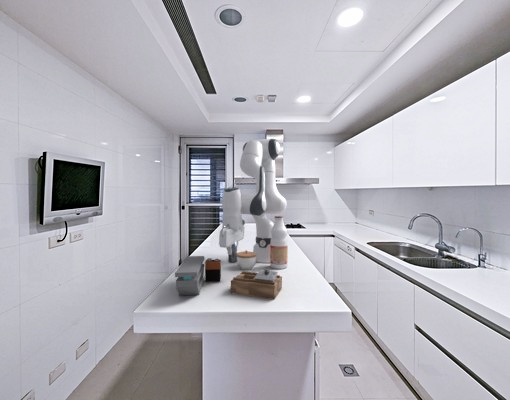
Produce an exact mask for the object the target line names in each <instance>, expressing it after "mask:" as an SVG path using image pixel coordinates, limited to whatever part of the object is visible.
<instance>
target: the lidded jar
mask: <svg viewBox="0 0 510 400" xmlns="http://www.w3.org/2000/svg"><path fill="white" fill-rule="evenodd" d="M236 264H238V267H240V269H242V270H251V269H253V267H254V266H256V265H255V264H256V253H255V252H253V251H248V250H247V249H246V250H244V251H239V252H238V251H237V262H236Z"/></svg>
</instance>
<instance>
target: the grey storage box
mask: <svg viewBox="0 0 510 400" xmlns="http://www.w3.org/2000/svg"><path fill="white" fill-rule="evenodd" d="M204 261H205V255H188V256H186V257H185V258H184V260H183V261H182V263H181V264H180V265H179V267H178V268H177V270H175V273H174V278H176V279H175V289H176V292H177V294H178V295H179V296H192V295H193V296H194V295H195V296H196V295H197V296H198V295H200V294H201V291H202V287H203V285H204V276H205V263H204Z"/></svg>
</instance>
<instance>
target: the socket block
mask: <svg viewBox="0 0 510 400" xmlns="http://www.w3.org/2000/svg"><path fill="white" fill-rule="evenodd" d="M258 273H259V272H251V271H245V270H244V271H243V270H242V271H241V272H240V273H238V275H236V276H234V277H233V278H232V279H231V280H230V294H235V295H242V296H247V297H254V298H255V297H256V298H261V299H262V298H263V299H269V300H275V299H276V298H277V296H278V295H279V293H280V292H281V291H282V289H283V276H281V275H278V278H277V279H276V281H275V282H270V281H261V280H256V275H257V274H258Z"/></svg>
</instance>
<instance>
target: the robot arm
mask: <svg viewBox="0 0 510 400" xmlns="http://www.w3.org/2000/svg"><path fill="white" fill-rule="evenodd" d="M280 152H281V145H280V142H279V140H278V139H276V138H270V139H269V138H267V139H266V138H263V139H257V140H256V139H254V140H252V139H251V140H249V141H246V142H245V143H244V144H243V146H242V154H241V158H240V159H239V167H240V170H241V171H242V172H243V174H245V175H247V176H248V177H251V178H254V179H256V180H255V182H256V184H255V187H256V188H255V193H253V194H243V193H242V192H241V188H240V187H236V186H235V187H234V186H233V187H227V188H225V189H223V192H222V198H221V200H222V201H221V206H222V207H221V208H222V216H221V217H222V221H221V222H222V226H221V230H219V237H218V245H219V248H225V249H226V251H227V256H228V255H231V254H232V249H231V247H232V245H233V244H234V243H235V241H236V240H237V248H238V246H239V242H240V241H242V240H244V238H245V225H246V220H245V219H243V217H242V215H251V216H252V217H253V220H254V222H255V229H256V232H255V233H256V236H255V244H254V245H253V249H252V250H253V251H252V252H255V253H256V262H257V263H264V264H265V263H267V264H268V263H270V241H271V238H272V236H271V229H272V227H273V226H274V223H275V222H273V221H272V220H271V219H269V218H268V217H267V215H279V214H284V213H285V212H286V210H287V207H288V202H287V199H286V198H285V197H284V196H283V195H281V193H280V192H279V190H278V188H277V183H276V182H277V180H276V173H277V172H276V171H277V170H276V162H275V160H277V158H278V156H279V155H280V154H281V153H280ZM256 262H255V263H256Z"/></svg>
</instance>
